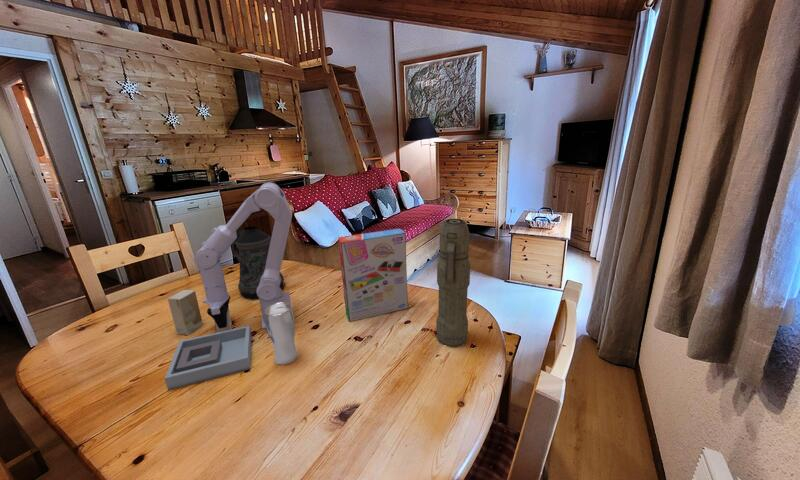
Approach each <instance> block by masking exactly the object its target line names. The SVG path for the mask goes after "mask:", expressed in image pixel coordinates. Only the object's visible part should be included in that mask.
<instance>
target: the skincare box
mask: <svg viewBox="0 0 800 480" xmlns="http://www.w3.org/2000/svg"><path fill="white" fill-rule="evenodd" d="M167 301H168V302H167V303H168V306H169V310H170V312H171V313H170V314H171V316H172V320H173V324H174V328H175V332H176V334H177V335H186V336H188V335H190V334H192V333H194V332H195V331H197V329H199V328H201V326H203V325H204V322H203V319H202V315H201V310H200V306H199V302H198V298H197V293H196V290H191V289H183V290H181V291H178V292H177V293H175V294H173V295H172V296H170V297H168V298H167Z"/></svg>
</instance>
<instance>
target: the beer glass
mask: <svg viewBox="0 0 800 480" xmlns="http://www.w3.org/2000/svg"><path fill="white" fill-rule="evenodd" d="M291 306H292V303H291V304H289V303H286V302H280V303H275V304H272V305H270V306H268V307H267V308H266V309H265V321H266V327H267V328H266V330H267V334H268V337H269V339H270V342H271V344H272V346H273V350H274V351H273V352H274V354H273V360H274V363H276V364H277V365H281V366H282V365H288V364H291V363H292V362H295V360H297V358H298V357H299V354H298V353H299V352H298V351H297V346H296V344H295V337H296V336H295V333H296V324H295V323H296V322H295V317H294V313H293V312H294V310H293V311H292V307H293V306H292V307H291Z"/></svg>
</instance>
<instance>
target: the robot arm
mask: <svg viewBox="0 0 800 480" xmlns="http://www.w3.org/2000/svg"><path fill="white" fill-rule="evenodd" d="M262 209H263V210H264V211H265V212H268V213H269V215H270V216H271V217H272V218H273V219H274V223H273V229H272V233H271V236H270V237H271V242H270V247H269V252H268V256H267V261H266V266H265V271H264V274H263V275H262V276H261V279H260V283H259V286H258V287H257V291H256V293H257V296H258V297H259V299H258V301H259V305H260V311H261V329H267V327H266V321H265V309H266V308H267V307H268V306H270V305H272V304H275V303H280V302H286V303H289V304H291V307H292V311H293V314H294V312H295V311H294V307H293V306H292V301H291V299H292V298H291V294H290V291H283V290H282V289H281V288H280V287H279V286H280V283H281V277H280V273H281V269H282V263H283V260H284V255H285V250H286V247H287V246H286V245H287V242H288V241H287V240H288V238H289V237H288V236H289V231H290V227H291V222H292V218H293V211H292V210H291V206H290V205H289V202H288V200H287V198H286V194H285V192H284V191H283V190H282V188H280V186H279V185H278V184H276V183H275V182H272V181H271V182H270V181H269V182H264V183H263V184H261V186H260V187H259V188H257V189H256V190H255V191H254V192H253V193H252V194H250V196H248V197H247V198H246V199H245V200H244V201H243V202H242V204H241V205H240V206H239V208H238V209H237V210H236V211H235V213H234V214H233V215H232V216H231V218H230V219H229V220H228V222H227V223H226V224H221V225H218V226H217V227H214V228H212V230H211V233H212V234H210V236H209V237H208V238H207V239H206V240H204V241H202V243H201V248H200V249H199V250H197V251H196V252H195V254H194V256H193V262H194V264H195V265H196V267H198V268H199V272H200V277H201V281H202V285H203V289H204V294H205V296H206V297H204V298H202V303H203V304H207V305H208V307H209V308H207V310H206V311H207V313H206V314H207V315H208V316H210V317H211V318H212V320H214V321H213V322H214V323H215V322H216V324H217V326H218V327H219V328H224V327H227V311H228V309H229V308H230V307H229V304H230V301H231V296H230V295H229V292H228V288H227V284H226V281H225V274H224V271H223V267H222V262H221V260H220V259H221V258H222V256H223V255H224V254H225V252H226V251H228V250H229V247H231V246H232V243H233V242H234V240H235V239H236V238H237V235H236V233H237V231H238V229H239V228H240V227H241V226H242V225H243V223H245V221H246V220H247V219H248V218H249V217H250V215H251V214H252V213H256V212H259V211H261V210H262ZM222 306H225V307H222Z"/></svg>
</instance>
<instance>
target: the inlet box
mask: <svg viewBox="0 0 800 480" xmlns="http://www.w3.org/2000/svg"><path fill="white" fill-rule="evenodd" d="M252 337H253V336H252V331H251V326H250V325H245V326H241V327H237V328H236V327H235V328H231V330H226V331H222V332H217V331H216V332H214V333H208V334H205V335H200V336H196V337H190V338H186V339H182V340H181V339H180V340H179V342H178V343H177V346H176V349H175V351H174V354H173V356H172V358H171V362H170V364H169V367H168V369H167V372H166V374H165V376H164V381H165V384H166V387H167V390H168V391H171V390H175V389H179V388H182V387H187V386H191V385H194V384H199V383H201V382H205V381H209V380H213V379H217V378H221V377H224V376H225V377H226V376H229V375H232V374H237V373H240V372H243V371H248V370H251V360H252V359H251V358H252V355H251V354H252V340H253V339H252Z"/></svg>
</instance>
